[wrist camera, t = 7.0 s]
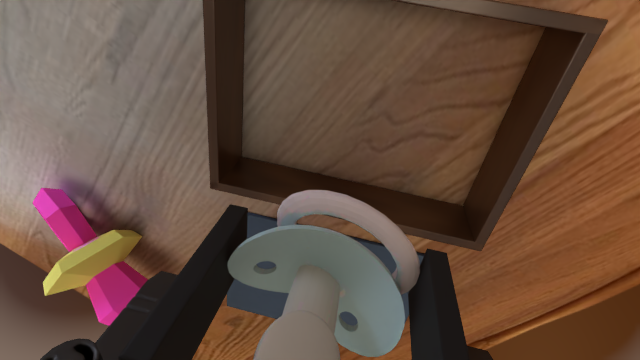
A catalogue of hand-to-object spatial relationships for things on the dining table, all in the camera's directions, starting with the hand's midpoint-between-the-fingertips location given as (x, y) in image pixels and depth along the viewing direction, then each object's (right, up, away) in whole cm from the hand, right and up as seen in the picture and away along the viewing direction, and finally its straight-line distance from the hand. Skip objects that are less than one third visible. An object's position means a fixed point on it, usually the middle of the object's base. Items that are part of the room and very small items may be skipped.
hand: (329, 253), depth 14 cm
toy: (-25, -3, +27) cm, 37 cm away
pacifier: (0, 0, 0) cm, 1 cm away
